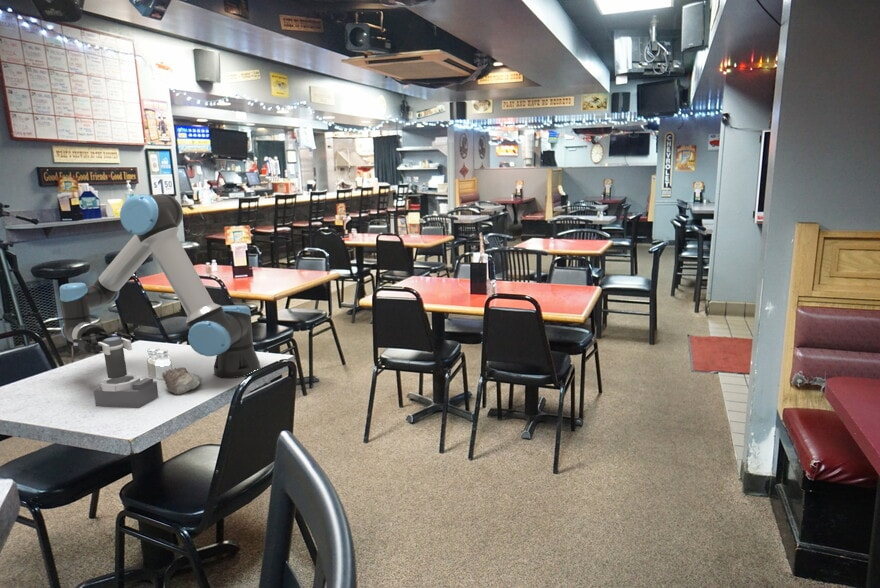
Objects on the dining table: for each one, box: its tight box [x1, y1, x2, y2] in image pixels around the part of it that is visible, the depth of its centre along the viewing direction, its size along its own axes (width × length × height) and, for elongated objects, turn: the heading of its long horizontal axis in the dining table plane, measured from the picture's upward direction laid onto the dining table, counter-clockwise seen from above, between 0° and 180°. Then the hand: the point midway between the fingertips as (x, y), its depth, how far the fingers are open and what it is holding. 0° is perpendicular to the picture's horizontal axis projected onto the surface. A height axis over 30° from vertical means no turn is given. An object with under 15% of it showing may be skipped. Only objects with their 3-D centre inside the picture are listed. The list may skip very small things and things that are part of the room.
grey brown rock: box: [161, 367, 203, 395], centre depth 184 cm, size 14×9×10 cm
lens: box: [102, 337, 128, 378], centre depth 171 cm, size 5×5×11 cm
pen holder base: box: [93, 373, 159, 409], centre depth 174 cm, size 14×10×7 cm
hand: (119, 347), depth 168 cm, fingers closed on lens, 5 cm apart
